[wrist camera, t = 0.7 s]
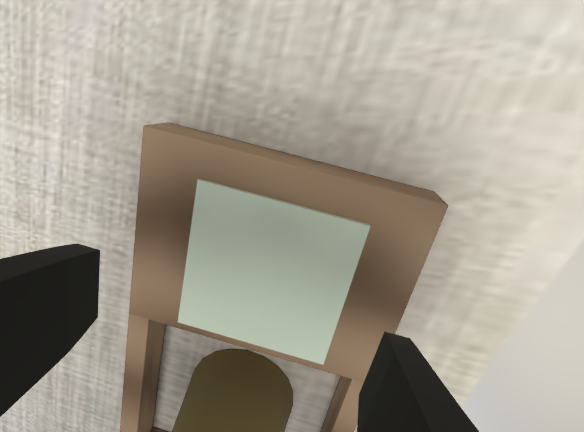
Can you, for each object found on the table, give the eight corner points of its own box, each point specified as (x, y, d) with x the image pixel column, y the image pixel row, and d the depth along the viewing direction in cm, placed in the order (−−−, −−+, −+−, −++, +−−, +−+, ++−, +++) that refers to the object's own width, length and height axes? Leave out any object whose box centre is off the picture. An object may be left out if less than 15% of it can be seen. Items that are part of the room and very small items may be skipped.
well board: (316, 489, 21) (313, 531, 19) (136, 433, 22) (115, 468, 20) (434, 192, 14) (450, 207, 12) (168, 122, 15) (140, 126, 13)
